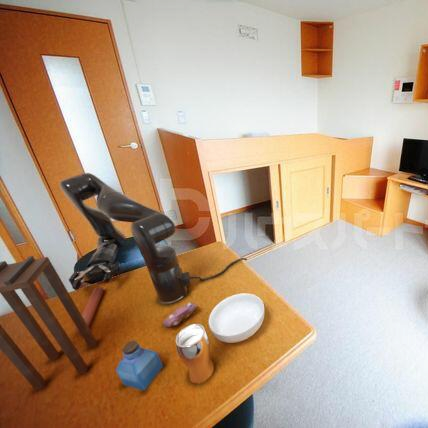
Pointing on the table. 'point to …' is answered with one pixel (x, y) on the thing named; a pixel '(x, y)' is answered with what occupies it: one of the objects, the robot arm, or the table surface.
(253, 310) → the cereal bowl
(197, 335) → the silver metal tumbler
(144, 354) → the perfume bottle
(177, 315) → the video game controller
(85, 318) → the sausage
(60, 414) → the table surface
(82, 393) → the table surface
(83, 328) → the shelf stand
